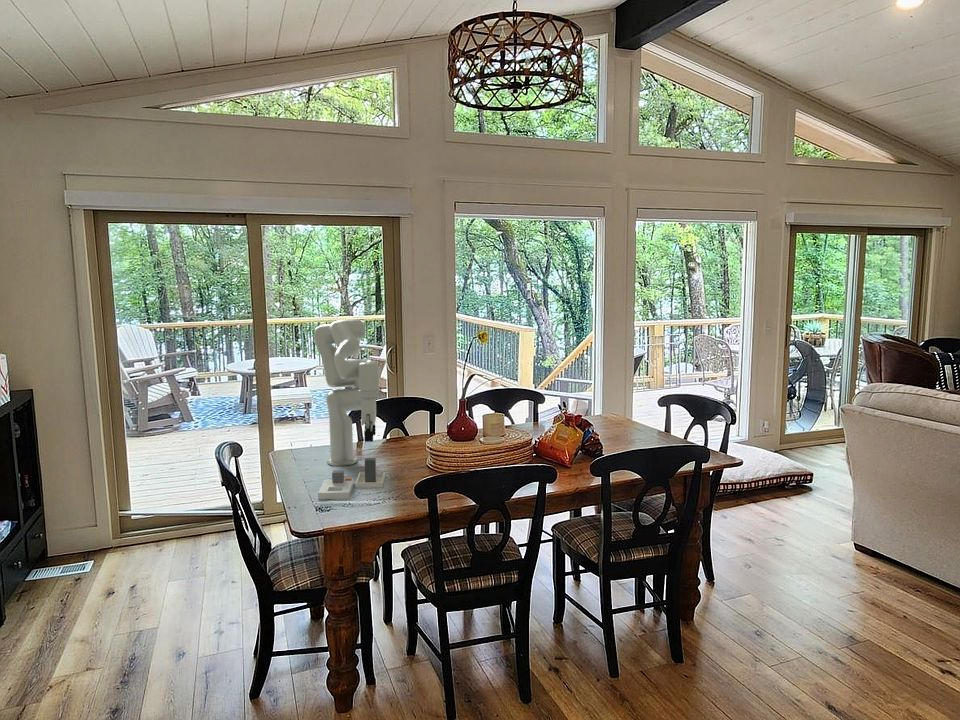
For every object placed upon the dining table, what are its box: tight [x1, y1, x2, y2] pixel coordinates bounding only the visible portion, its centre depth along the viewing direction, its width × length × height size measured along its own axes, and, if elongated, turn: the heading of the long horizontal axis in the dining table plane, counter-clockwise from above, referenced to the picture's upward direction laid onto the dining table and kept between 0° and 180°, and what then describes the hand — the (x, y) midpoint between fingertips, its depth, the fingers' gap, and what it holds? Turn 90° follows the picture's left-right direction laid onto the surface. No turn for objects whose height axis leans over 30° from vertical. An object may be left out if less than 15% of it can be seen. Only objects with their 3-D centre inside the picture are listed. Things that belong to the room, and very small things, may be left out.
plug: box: [364, 457, 377, 483], centre depth 257 cm, size 3×4×9 cm
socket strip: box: [317, 469, 355, 501], centre depth 246 cm, size 15×11×7 cm
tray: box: [354, 471, 386, 489], centre depth 257 cm, size 13×10×2 cm
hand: (370, 438), depth 254 cm, fingers open, 9 cm apart
